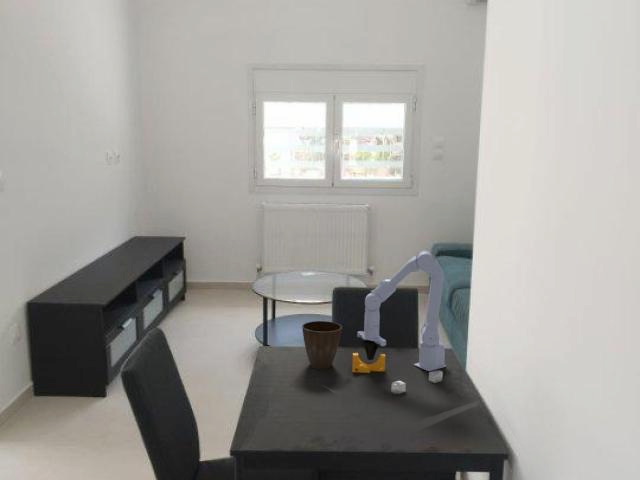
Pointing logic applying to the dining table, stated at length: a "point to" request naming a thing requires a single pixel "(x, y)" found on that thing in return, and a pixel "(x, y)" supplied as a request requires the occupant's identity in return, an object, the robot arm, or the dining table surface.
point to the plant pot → (321, 342)
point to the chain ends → (401, 386)
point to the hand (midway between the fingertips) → (370, 359)
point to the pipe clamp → (368, 367)
